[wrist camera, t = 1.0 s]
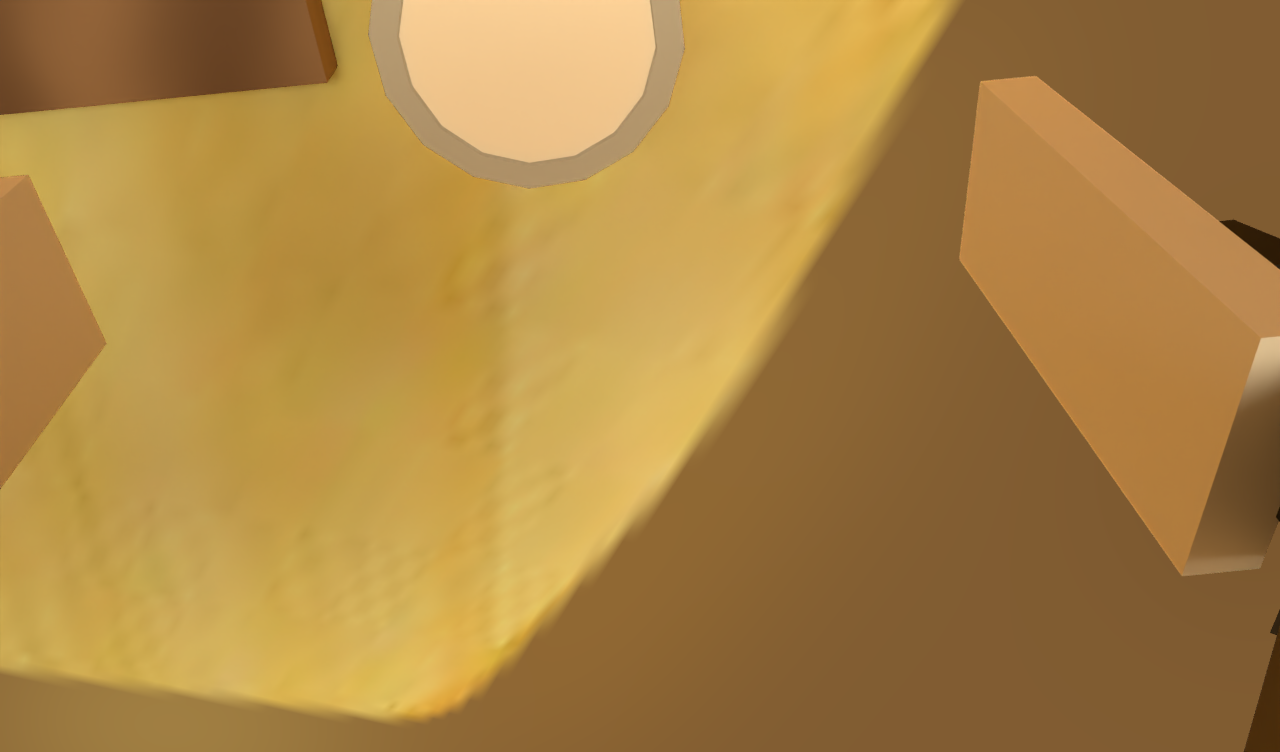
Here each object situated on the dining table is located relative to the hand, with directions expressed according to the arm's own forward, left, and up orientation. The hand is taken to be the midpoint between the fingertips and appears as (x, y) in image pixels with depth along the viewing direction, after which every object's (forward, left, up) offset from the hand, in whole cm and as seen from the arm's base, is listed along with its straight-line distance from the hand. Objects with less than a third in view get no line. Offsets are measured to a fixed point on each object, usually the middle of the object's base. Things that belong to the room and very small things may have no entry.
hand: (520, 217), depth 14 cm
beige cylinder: (0, 0, -16) cm, 16 cm away
